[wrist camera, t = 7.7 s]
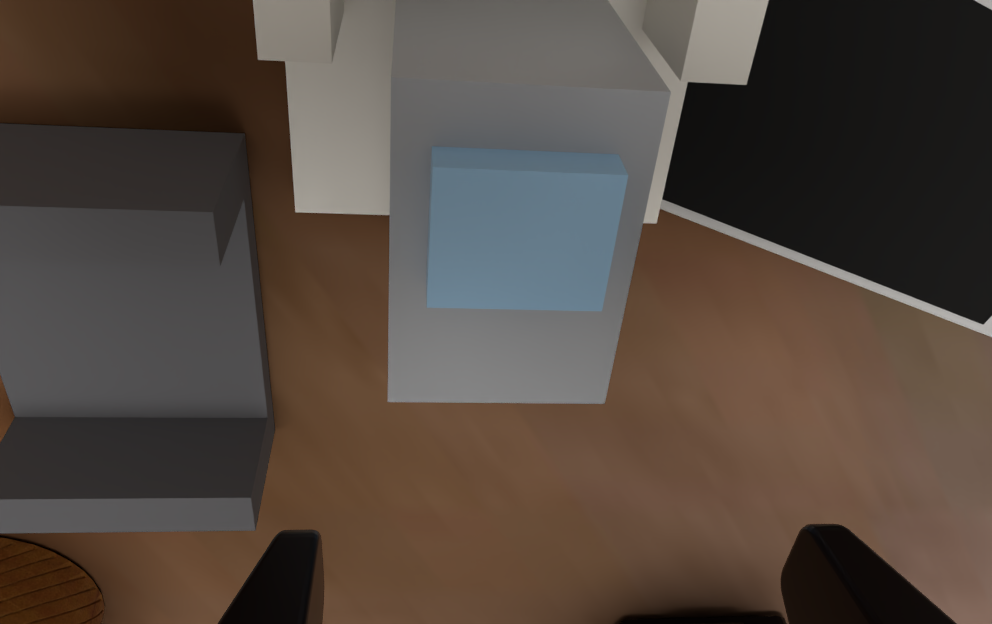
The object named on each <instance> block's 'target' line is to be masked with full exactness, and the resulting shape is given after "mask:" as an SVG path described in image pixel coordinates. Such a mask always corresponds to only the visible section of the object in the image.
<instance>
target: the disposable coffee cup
mask: <svg viewBox="0 0 992 624" xmlns="http://www.w3.org/2000/svg"><path fill="white" fill-rule="evenodd" d="M103 614H104V602H103V598H102V594H101V593H100V591H99V589H98V588H97V586H96V585H95V583H94V581H93V580H92V579H91V578H90V577H89V576H88V575H87V574H86V573H85V572H84V571H83V570H82V569H80V568H79V567H78V566H76V565H75V564H73V563H72V562H71V561H69V560H67V559H65V558H63V557H62V556H60V555H58V554H56V553H54V552H52V551H49V550H47V549H44V548H41V547H39V546H36V545H33V544H29V543H25V542H20V541H16V540H12V539H7V538H0V624H101V622H102V618H103Z"/></svg>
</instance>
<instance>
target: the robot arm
mask: <svg viewBox="0 0 992 624" xmlns="http://www.w3.org/2000/svg"><path fill="white" fill-rule="evenodd" d="M781 591H782V596H783V600H784V604H785V608H786V613H787V617H788V621H789V624H956V623H955V622H954V621H953V620H952V619H951V618H950V617H948V616H947V615H946V614H945V613H944V612H943V611H942V610H940V609H939V608H938V607H937V606H936V605H935V604H934V603H932V602H931V601H930V600H929V599H928V598H927V597H926V596H924V595H923V594H922V593H921V592H920V591H919V590H918V589H916V588H915V587H914V586H913V585H912V584H911V583H910V582H908V581H907V580H906V579H905V578H904V577H903V576H902V575H900V574H899V573H898V572H897V571H896V570H895V569H894V568H892V567H891V566H890V565H889V564H888V563H887V562H886V561H884V560H883V559H882V558H881V557H880V556H879V555H878V554H876V553H875V552H874V551H873V550H872V549H871V548H870V547H868V546H867V545H866V544H865V543H864V542H863V541H862V540H860V539H859V538H858V537H857V536H856V535H855V534H854V533H852V532H851V531H850V530H849V529H847V528H845V527H844V526H842V525H838V524H809V525H806V526H805V527H803V528H802V529H801V530H800V532H799V534H798V536H797V538H796V540H795V543H794V545H793V547H792V549H791V552H790V554H789V556H788V558H787V561H786V563H785V565H784V567H783V570H782V574H781ZM323 605H324V571H323V555H322V540H321V535H320V533H319V532H318V531H316V530H284V531H281V532H280V533H278V534H277V535H276V536H275V538H274V539H273V540H272V542H271V543H270V545H269V546H268V548H267V550H266V551H265V553H264V554H263V556H262V557H261V559H260V560H259V562H258V563H257V565H256V566H255V568H254V569H253V571H252V572H251V574H250V575H249V577H248V578H247V580H246V581H245V583H244V584H243V586H242V587H241V589H240V590H239V592H238V594H237V595H236V597H235V598H234V600H233V601H232V603H231V604H230V606H229V607H228V609H227V610H226V612H225V613H224V615H223V616H222V618H221V619H220V621H219V622H218V624H322V620H323ZM620 624H787V623H786V621H785V619H784V618H783V617H780V616H760V617H720V618H679V619H638V620H626V621H624V622H621V623H620Z"/></svg>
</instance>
